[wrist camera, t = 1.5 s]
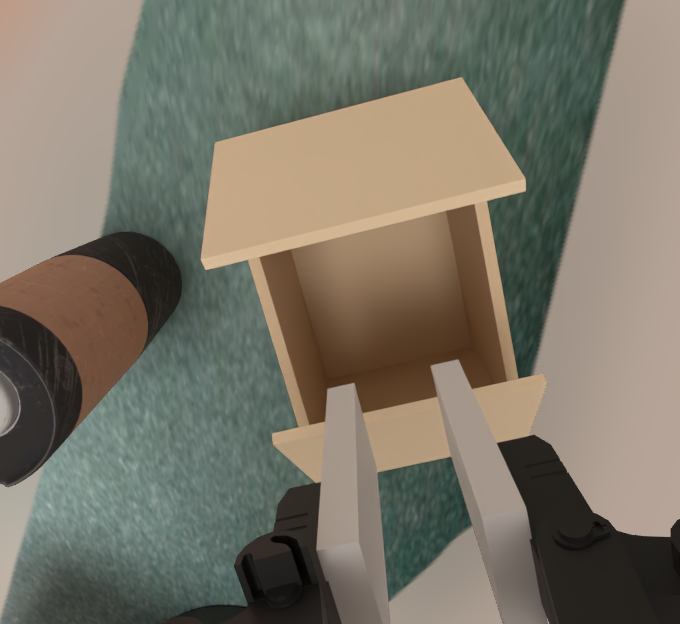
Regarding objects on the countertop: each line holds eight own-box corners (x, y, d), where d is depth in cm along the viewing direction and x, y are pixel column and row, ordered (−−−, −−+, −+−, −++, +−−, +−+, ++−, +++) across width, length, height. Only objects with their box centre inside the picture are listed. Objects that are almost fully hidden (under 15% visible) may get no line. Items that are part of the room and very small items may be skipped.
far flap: (524, 431, 33) (526, 440, 33) (316, 475, 34) (318, 484, 34) (543, 373, 25) (547, 384, 25) (271, 433, 26) (273, 444, 26)
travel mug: (126, 204, 42) (-60, 279, 22) (208, 284, 43) (99, 416, 24) (55, 278, 43) (-174, 406, 24) (137, 352, 45) (-18, 526, 26)
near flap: (218, 152, 29) (215, 142, 28) (462, 87, 28) (461, 77, 27) (205, 270, 22) (200, 259, 22) (525, 191, 21) (525, 178, 21)
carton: (481, 350, 45) (527, 431, 33) (321, 386, 46) (313, 477, 34) (431, 95, 39) (466, 86, 28) (252, 142, 40) (215, 152, 29)
